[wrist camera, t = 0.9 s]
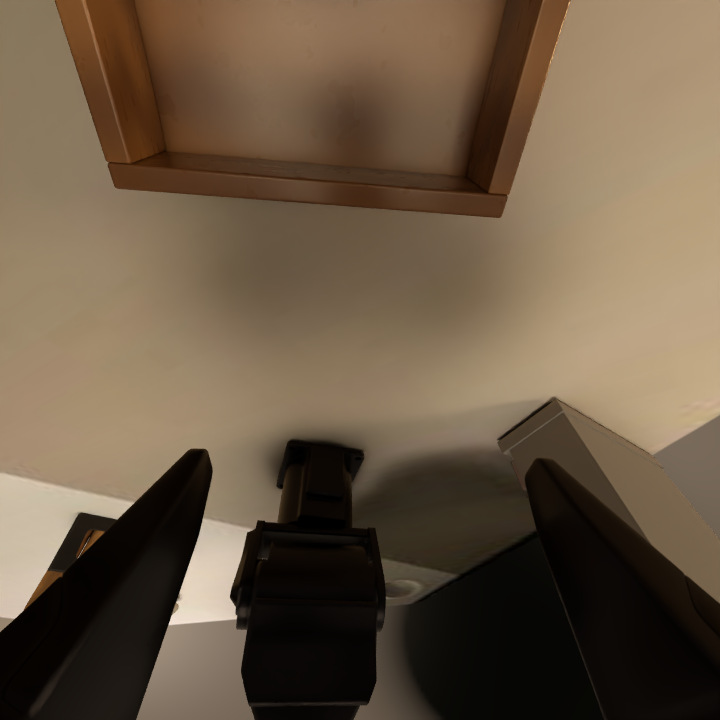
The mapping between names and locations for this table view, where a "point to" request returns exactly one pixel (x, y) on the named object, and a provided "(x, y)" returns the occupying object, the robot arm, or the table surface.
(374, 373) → the table surface
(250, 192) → the wooden tray
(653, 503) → the labelled white carton
